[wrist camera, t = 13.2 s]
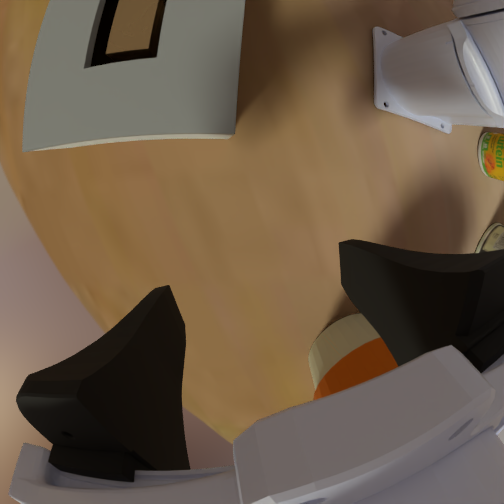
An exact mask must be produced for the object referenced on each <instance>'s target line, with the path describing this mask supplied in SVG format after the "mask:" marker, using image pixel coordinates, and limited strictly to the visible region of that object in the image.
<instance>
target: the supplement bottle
mask: <svg viewBox="0 0 504 504" xmlns="http://www.w3.org/2000/svg"><path fill="white" fill-rule="evenodd" d="M478 159H479V164H480V167H481V170H482V172H483V173H484V174H485V175H486V176H488V177H491V178H495V179H498V180H502V181H504V134H500V133H492V132H486V133H484V134H483V135H482V136H481V138H480V140H479V144H478Z"/></svg>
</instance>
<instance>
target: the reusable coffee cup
mask: <svg viewBox="0 0 504 504" xmlns="http://www.w3.org/2000/svg"><path fill="white" fill-rule="evenodd" d="M308 361H309V366H310V370H311V374H312V378H313V382H314V386H315V390H316V391H315V393H314V400H317V399H320V398H323V397H326V396H329V395H331V394H334V393H337V392H340V391H343V390H345V389H348V388H351V387H353V386H356V385H358V384H361V383H363V382H366V381H368V380H370V379H373V378H375V377H377V376H380V375H382V374H384V373H386V372H389V371H391V370H393V369H395V368H397V367H398V365H397V363H396V361H395V359H394V358H393V356H392V354H391V352H390V351H389V349H388V347H387V346H386V344H385V343H384V341H383V339H382V338H381V337H380V335H379V334H378V333H377V331H376V330H375V329H374V328H373V327H372V325H371V324H370V323H369V322H368V321H367V319H366V318H365V317H364V316H363V315H362V313H357V314H353V315H349V316H347V317H344V318H342V319H340V320H338V321H336V322H334V323H333V324H332V325H330V326H329V327H327V328H326V329H325V330H324V331H323V332H322V333H321V334H320V335H319V336H318V338H317V339H316V340H315V341H314V343H313V345H312V347H311V349H310V352H309V358H308Z"/></svg>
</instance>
